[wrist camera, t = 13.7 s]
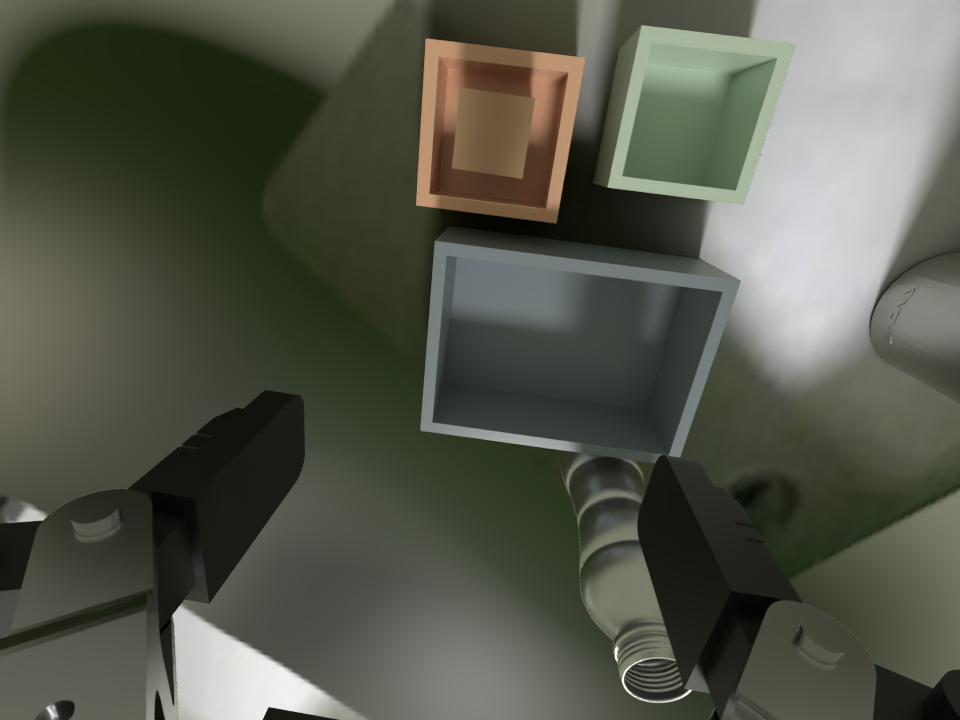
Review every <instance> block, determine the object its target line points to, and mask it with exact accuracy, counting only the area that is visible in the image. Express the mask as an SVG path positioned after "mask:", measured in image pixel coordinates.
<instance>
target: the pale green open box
mask: <svg viewBox="0 0 960 720" xmlns="http://www.w3.org/2000/svg"><path fill="white" fill-rule="evenodd" d="M795 46H796V44H795V43H787V42H778V41H770V40H762V39H753V38H745V37H736V36H728V35H720V34H711V33H703V32H695V31H686V30H678V29H669V28H661V27H653V26H644V25H641V27H640V28H639V29H638V30H637V31H636V32H635V33H634V34H633V35H632V36H631V37H630V38H629V40H628V41H627V42H626V43H625V44H624V45H623V46H622V47H621V48H620V49H619V52H618V57H617V62H616V67H615V72H614V77H613V82H612V87H611V92H610V97H609V102H608V107H607V112H606V117H605V122H604V127H603V132H602V137H601V143H600V148H599V153H598V158H597V163H596V168H595V173H594V178H593V183H595V184H598V185H601V186H604V187H608V188H615V189H623V190H631V191H639V192H647V193H655V194H663V195H671V196H678V197H686V198H694V199H702V200H710V201H718V202H726V203H734V204H741V205H744V202H745V199H746V196H747V193H748V190H749V187H750V184H751V181H752V178H753V175H754V172H755V169H756V165H757V162H758V159H759V156H760V153H761V150H762V147H763V144H764V141H765V138H766V135H767V132H768V129H769V125H770V122H771V119H772V116H773V113H774V110H775V107H776V104H777V101H778V98H779V95H780V92H781V89H782V86H783V82H784V79H785V76H786V73H787V70H788V67H789V64H790V61H791V58H792V55H793V52H794V49H795Z"/></svg>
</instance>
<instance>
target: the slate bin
mask: <svg viewBox="0 0 960 720" xmlns="http://www.w3.org/2000/svg"><path fill="white" fill-rule="evenodd" d="M739 284H740V280H738V279H737V278H735V277H733V276H731V275H729V274H727V273H726V272H724V271H722V270H720V269H718V268H716V267H714V266H713V265H711V264H709V263H707V262H705V261H703V260H702V259H700V258H694V257H686V256H678V255H670V254H663V253H655V252H647V251H640V250H632V249H624V248H616V247H609V246H601V245H593V244H586V243H578V242H570V241H562V240H555V239H547V238H539V237H531V236H524V235H516V234H508V233H501V232H493V231H485V230H477V229H470V228H462V227H454V226H449V227H448V228H447V229H446V230H445V231H444V232H443V233H442V234H441V235H440V236H439V237H438V238H437V239H436V240H435V245H434V258H433V271H432V285H431V298H430V311H429V324H428V338H427V351H426V364H425V377H424V392H423V404H422V418H421V431H429V432H435V433H443V434H449V435H457V436H464V437H472V438H478V439H486V440H493V441H500V442H507V443H514V444H521V445H528V446H536V447H543V448H550V449H557V450H564V451H571V452H579V453H586V454H593V455H600V456H607V457H614V458H622V459H629V460H636V461H643V462H650V463H656V461H657V459H658V457H659V456H661V455H667V456H673V457H680V456H681V453H682V450H683V447H684V444H685V441H686V438H687V435H688V432H689V429H690V427H691V424H692V421H693V418H694V415H695V412H696V409H697V406H698V403H699V400H700V398H701V395H702V392H703V389H704V386H705V383H706V380H707V377H708V374H709V371H710V368H711V366H712V363H713V360H714V357H715V354H716V351H717V348H718V345H719V342H720V339H721V337H722V334H723V331H724V328H725V325H726V322H727V319H728V316H729V313H730V310H731V307H732V305H733V302H734V299H735V296H736V293H737V290H738V287H739Z"/></svg>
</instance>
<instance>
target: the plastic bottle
mask: <svg viewBox="0 0 960 720" xmlns="http://www.w3.org/2000/svg"><path fill="white" fill-rule="evenodd" d="M561 475H562V478H563V481H564V483H565V486H566V488H567V491H568V493H569V495H570V496H571V499H572V503H573V506H574V509H575V512H576V516H577V519H578V528H579V537H580V589H581V597H582V600H583V602H584V604H585V606H586V608H587V610H588V612H589V614H590V616H591V618H592V619H593V620H594V621H595V623H596V624H597V625H598V626H599V627H600V628H601V629H602V630H603V631H604V632H605V633H606V634H607V635H608V636H609V637H610V638H612V639H613V640H614V643H613V651H614V656H615V660H616V662H617V663H618V668H619V673H620V679H621V682H622V684H623V687H624V688H625V690H626V691H627V692H628V693H629V694H630V695H632V696H633V697H635V698H637V699H640V700H643V701H647V702H653V703H665V702H672V701H675V700H678V699H681V698H683V697H685V696H686V695H688V694H689V693H690V692H691V691H692V690H689V689H684V686H683V683H682V680H681V677H680V673H679V670H678V667H677V663H676V660H675V657H674V654H673V650H672V647H671V644H670V641H669V637H668V634H667V631H666V627H665V624H664V621H663V618H662V614H661V611H660V608H659V604H658V601H657V598H656V595H655V591H654V588H653V585H652V581H651V578H650V575H649V572H648V568H647V565H646V562H645V558H644V555H643V552H642V549H641V545H640V542H639V538H638V532H637V521H638V514H639V509H640V506H641V503H642V500H643V498H644V495H645V492H646V490H645V486H644V476H643V469H642V464H641V461H636V460H629V459H622V458H614V457H607V456H600V455H593V454H586V453H579V452H571V451H563V454H562V462H561Z"/></svg>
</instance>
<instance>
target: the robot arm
mask: <svg viewBox="0 0 960 720" xmlns="http://www.w3.org/2000/svg"><path fill="white" fill-rule="evenodd" d="M870 333H871V340H872V344H873V346H874V348H875V351H876V352H877V353H878V355H879V356H880V357H881V358H882V359H883V360H884V361H886V362H887V363H889V364H890V365H892V366H893V367H895V368H897V369H899V370H901V371H902V372H904V373H906V374H908V375H910V376H912V377H913V378H915V379H917V380H919V381H921V382H922V383H924V384H926V385H928V386H929V387H931V388H933V389H935V390H936V391H938V392H940V393H942V394H944V395H945V396H947V397H949V398H951V399H953V400H955V401H956V402H958V403H960V253H949V254H945V255H941V256H937V257H934V258H931V259H929V260H927V261H924V262H922V263H920V264H918V265H916V266H915V267H913V268H911V269H910V270H908V271H907V272H905V273H904V274H903V275H902V276H901V277H899V278H898V279H897V280H896V281H895V282H893V284H892V285H891V286H890V287H889V288H888V289H887V291H886V292H885V293H884V294H883V296H882V297H881V299H880V301H879V302H878V304H877V306H876V308H875V311H874V314H873V317H872V320H871V328H870ZM304 437H305V435H304V403H303V399H302V397H301V396H300V395H294V394H289V393H282V392H276V391H270V390H265V391H263V392H262V393H261V394H260V395H259V396H258V397H256V398H255V399H254V400H253V401H252V402H250V403H249V404H248V405H247V406H246V407H245V408H244V409H242V408H235V409H233V410H231V411H229V412H226V413H224V414H222V415H219V416H217V417H215V418H213V419H212V420H211V421H209V422H208V423H207V424H206V425H205V426H203V427H202V428H201V429H200V430H199V431H197V434H196V435H193V436H191V437H190V438H189V439H188V440H186V441H185V442H184V443H183V445H182V447H178V448H177V449H175V450H174V451H173V452H172V453H171V454H169V455H168V456H167V457H166V458H165V459H163V460H162V461H161V462H160V463H158V464H157V465H156V466H155V467H154V468H152V469H151V470H150V471H149V472H148V473H147V474H145V475H144V476H143V477H141V478H140V479H139V480H138V481H137V482H135V483H134V484H133V485H132V486H131V487H129V488H128V489H109V490H103V491H98V492H95V493H90V494H87V495H84V496H81V497H79V498H77V499H74V500H72V501H70V502H68V503H66V504H64V505H62V506H61V507H59V508H58V509H56V510H54V511H53V512H52V513H51V514H49V515H48V516H47V517H46V518H45V519H44V520H43V521H32V522H17V523H3V524H0V720H179V715H178V695H177V675H176V655H175V635H174V622H173V617H172V615H173V613H174V612H175V611H176V610H177V608H178V607H179V606H180V604H181V603H182V602H183V600H184V599H186V600H191V601H197V602H203V603H208V604H209V603H210V602H211V600H212V599H213V598H214V596H215V595H216V593H217V592H218V591H219V589H220V588H221V586H222V585H223V583H224V582H225V581H226V579H227V578H228V577H229V575H230V574H231V572H232V571H233V570H234V568H235V567H236V565H237V564H238V562H239V561H240V560H241V558H242V557H243V556H244V554H245V553H246V551H247V550H248V549H249V547H250V546H251V544H252V543H253V542H254V540H255V539H256V537H257V536H258V534H259V533H260V532H261V530H262V529H263V528H264V526H265V525H266V523H267V522H268V520H269V519H270V518H271V516H272V515H273V513H274V512H275V511H276V509H277V508H278V507H279V505H280V504H281V502H282V501H283V499H284V498H285V497H286V495H287V494H288V492H289V491H290V490H291V488H292V487H293V485H294V484H295V483H296V481H297V480H298V477H299V476H300V473H301V470H302V467H303V463H304V456H305V438H304ZM637 532H638V538H639V542H640V545H641V549H642V552H643V555H644V558H645V562H646V565H647V568H648V572H649V575H650V578H651V581H652V585H653V588H654V591H655V595H656V598H657V601H658V604H659V608H660V611H661V614H662V618H663V621H664V624H665V627H666V631H667V634H668V637H669V641H670V644H671V647H672V650H673V654H674V657H675V660H676V663H677V667H678V670H679V673H680V677H681V680H682V683H683V686H684V689H689V690H694V691H700V692H706V693H710V695H711V698H712V700H713V703H714V706H715V708H714V710H713V712H712V713H711V715H710V717H709V719H708V720H960V670H952V671H949V672H947V673H946V674H945V675H944V676H943V677H942V678H941V680H940V681H939V682H938V683H937V685H936V686H935V687H934V688H930V687H928V686H926V685H923V684H921V683H919V682H916V681H914V680H912V679H909V678H907V677H904V676H902V675H900V674H897V673H895V672H892V671H890V670H888V669H885V668H883V667H881V666H878V665H876V664H874V663H873V661H872V659H871V657H870V655H869V653H868V652H867V651H866V649H865V648H864V646H863V645H862V644H861V643H860V642H859V640H858V639H857V638H856V637H855V636H854V635H853V634H852V633H851V632H850V631H849V630H848V629H846V628H845V627H844V626H842V625H841V624H840V623H839V622H837V621H836V620H835V619H833V618H832V617H830V616H829V615H827V614H825V613H824V612H822V611H820V610H817V609H816V608H813V607H811V606H809V605H806V604H803V602H802V601H801V599H800V598H799V596H798V594H797V593H796V591H795V590H794V588H793V587H792V585H791V583H790V582H789V580H788V579H787V577H786V575H785V574H784V572H783V571H782V569H781V568H780V566H779V564H778V563H777V561H776V560H775V558H774V557H773V555H772V553H771V552H770V550H769V549H768V547H767V545H764V544H763V542H764V541H763V539H762V538H761V536H760V534H759V533H758V531H757V530H756V529H755V528H753V523H752V522H751V520H750V519H749V517H748V515H747V514H746V512H745V511H744V509H743V508H742V506H741V505H740V504H739V503H738V502H737V501H736V500H734V499H733V498H732V497H731V496H730V495H729V494H728V493H727V492H726V491H724V490H723V489H722V488H721V487H715V486H713V484H712V482H711V481H710V479H709V477H708V475H707V474H706V472H705V470H704V469H703V467H702V465H701V464H700V462H698V461H697V460H692V459H686V458H680V457H673V456H667V455H661V456H659V457H658V459H657V461H656V463H655V465H654V468H653V471H652V474H651V477H650V480H649V483H648V486H647V489H646V492H645V495H644V498H643V500H642V503H641V506H640V509H639V514H638V521H637ZM263 720H337V719H332V718H326V717H320V716H315V715H309V714H304V713H298V712H293V711H287V710H282V709H276V708H270V707H268V710H267V712H266V714H265V716H264V718H263Z"/></svg>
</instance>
